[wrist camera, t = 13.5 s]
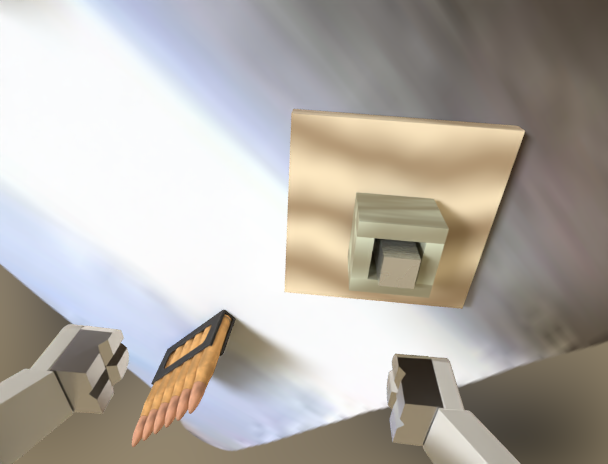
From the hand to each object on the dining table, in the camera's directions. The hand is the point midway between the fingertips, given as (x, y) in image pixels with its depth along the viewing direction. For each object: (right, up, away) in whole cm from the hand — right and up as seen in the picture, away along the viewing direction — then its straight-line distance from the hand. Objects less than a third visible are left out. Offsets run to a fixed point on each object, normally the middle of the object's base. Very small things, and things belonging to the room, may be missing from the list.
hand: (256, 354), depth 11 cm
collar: (+9, +4, +22) cm, 24 cm away
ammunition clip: (-11, -8, +34) cm, 37 cm away
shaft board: (+9, +5, +24) cm, 26 cm away
